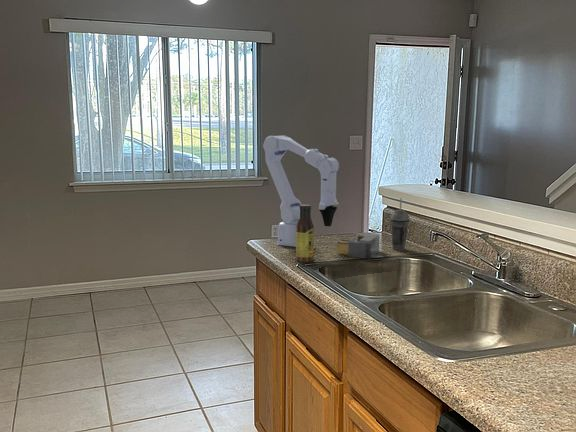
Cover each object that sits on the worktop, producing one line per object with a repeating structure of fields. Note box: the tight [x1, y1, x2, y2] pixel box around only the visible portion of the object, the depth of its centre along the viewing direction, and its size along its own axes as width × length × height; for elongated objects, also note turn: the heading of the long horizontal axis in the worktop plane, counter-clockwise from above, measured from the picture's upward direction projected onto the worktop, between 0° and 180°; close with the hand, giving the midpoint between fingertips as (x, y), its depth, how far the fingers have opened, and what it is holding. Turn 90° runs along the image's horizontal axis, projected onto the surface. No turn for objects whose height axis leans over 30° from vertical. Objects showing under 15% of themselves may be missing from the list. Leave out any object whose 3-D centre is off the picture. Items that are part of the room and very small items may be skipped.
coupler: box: [347, 233, 381, 260], centre depth 207 cm, size 8×13×6 cm, turn 156°
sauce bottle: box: [295, 204, 315, 263], centre depth 195 cm, size 7×6×20 cm
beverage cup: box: [389, 198, 410, 252], centre depth 214 cm, size 7×7×20 cm
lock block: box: [336, 239, 354, 256], centre depth 210 cm, size 5×8×4 cm, turn 158°
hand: (327, 225), depth 212 cm, fingers closed
